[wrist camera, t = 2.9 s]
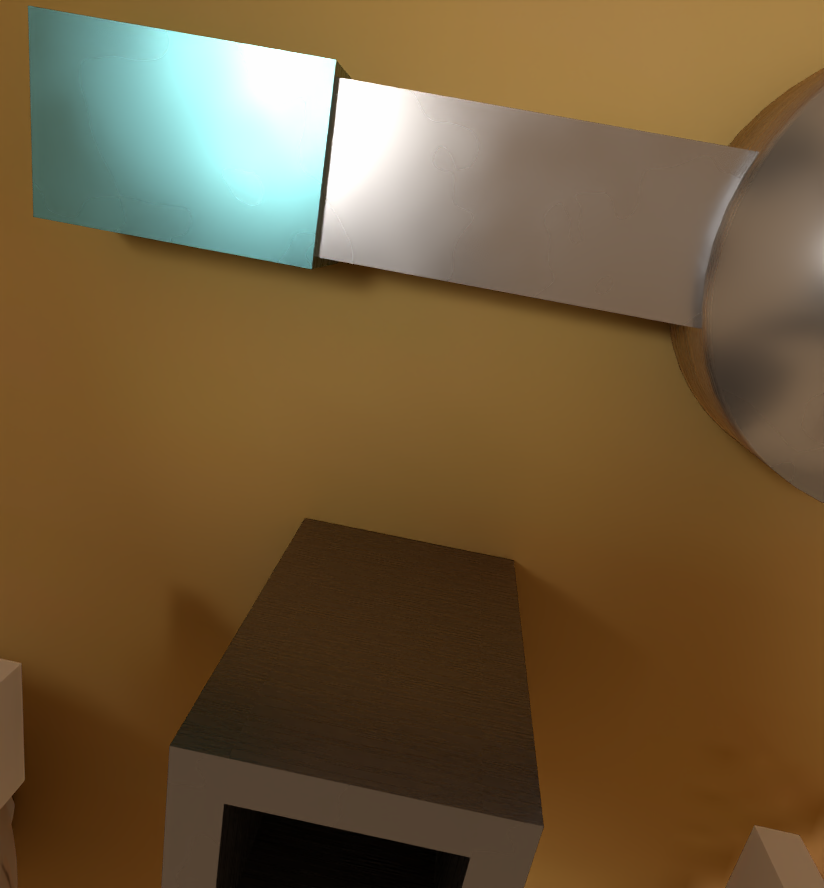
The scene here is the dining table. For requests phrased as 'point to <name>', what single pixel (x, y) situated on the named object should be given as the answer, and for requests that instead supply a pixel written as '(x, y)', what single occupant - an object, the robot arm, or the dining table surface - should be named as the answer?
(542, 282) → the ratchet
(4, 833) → the teacup
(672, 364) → the dining table surface
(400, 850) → the square hollow tube
